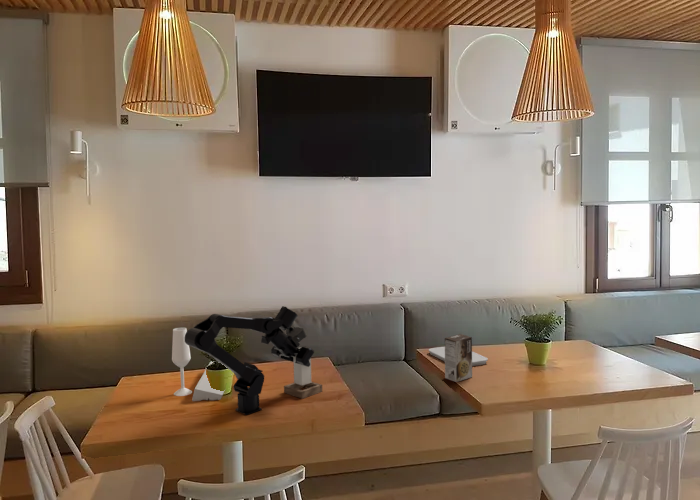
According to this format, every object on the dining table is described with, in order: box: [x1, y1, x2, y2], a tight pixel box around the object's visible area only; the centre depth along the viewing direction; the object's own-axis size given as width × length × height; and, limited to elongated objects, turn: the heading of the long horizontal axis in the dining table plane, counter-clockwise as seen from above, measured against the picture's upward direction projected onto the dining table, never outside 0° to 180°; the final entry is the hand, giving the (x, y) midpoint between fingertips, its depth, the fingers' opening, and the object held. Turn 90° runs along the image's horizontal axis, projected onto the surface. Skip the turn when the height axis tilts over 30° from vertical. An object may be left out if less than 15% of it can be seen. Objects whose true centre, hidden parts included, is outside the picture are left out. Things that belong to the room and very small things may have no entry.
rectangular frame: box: [283, 381, 323, 400], centre depth 207 cm, size 10×10×2 cm
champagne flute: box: [171, 327, 193, 397], centre depth 208 cm, size 7×7×24 cm
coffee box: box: [444, 333, 473, 383], centre depth 219 cm, size 9×6×16 cm
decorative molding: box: [191, 361, 225, 402], centre depth 218 cm, size 34×5×10 cm
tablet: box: [428, 345, 489, 367], centre depth 246 cm, size 16×26×2 cm, turn 21°
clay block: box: [293, 356, 312, 386], centre depth 206 cm, size 4×4×12 cm
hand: (305, 364), depth 207 cm, fingers closed on clay block, 4 cm apart
